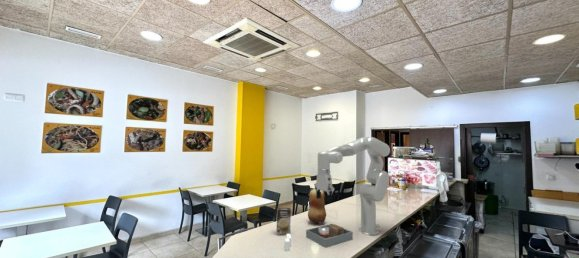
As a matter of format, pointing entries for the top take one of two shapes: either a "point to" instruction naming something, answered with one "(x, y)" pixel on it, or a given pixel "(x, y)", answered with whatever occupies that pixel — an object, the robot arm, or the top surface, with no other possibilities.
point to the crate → (330, 241)
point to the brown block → (335, 230)
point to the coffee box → (283, 221)
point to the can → (324, 232)
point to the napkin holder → (287, 242)
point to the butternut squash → (316, 207)
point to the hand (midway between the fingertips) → (323, 199)
